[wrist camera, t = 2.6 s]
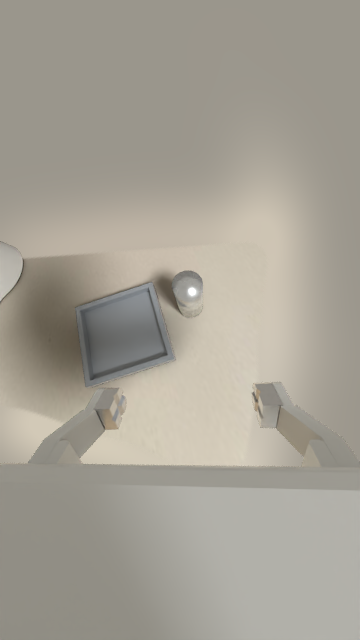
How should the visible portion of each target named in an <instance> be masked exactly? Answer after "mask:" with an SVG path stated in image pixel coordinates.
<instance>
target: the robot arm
mask: <svg viewBox="0 0 360 640" xmlns="http://www.w3.org/2000/svg"><path fill="white" fill-rule="evenodd" d="M22 267H23V259H22V256H21V253H20V252H19V251H18V249H16V248H15V247H13V246H11V245H8V244H6V243H4V242H1V241H0V301H1V300H2V298H3V297H4V296H5V295H6V294H7V293H8V292H9V291H10V290H11V289H12V288H13V287H14V285H15V284H16V283H17V281H18V279H19V277H20V275H21V272H22ZM253 390H254V392H253V393H252V402H253V406H254V410H255V411H257V419H258V421H259V425H260V427H261V428H277V430H278V431H279V432H280V433H281V434H282V435H283V436H284V437H285V438H286V439H287V440H288V441H289V442H290V443H291V445H292V446H293V447H294V448H295V449H296V450H297V451H298V452H299V453H300V454H301V455H302V456H303V457H304V459H303V462H302V465H301V467H287V466H286V467H285V466H283V467H282V466H281V467H280V466H277V467H276V466H201V465H111V464H103V465H102V464H83V463H82V461H81V460H80V457H81V456H82V455H83V454H84V453H85V452H86V451H87V450H88V449H89V448H90V446H91V445H92V444H93V443H94V442H95V441H96V440H97V439H98V438H99V437H100V435H101V434H102V433H103V432H104V431H105V430H112V429H118V428H119V426H120V423H121V420H122V418H121V415H122V414H123V413H124V412H125V409H126V398H125V396H123V395H122V394H123V390H122V388H98V389H97V390H96V391H95V393H94V395H93V397H92V398H91V400H90V402H89V403H88V405H87V407H86V409H85V410H82V411H81V412H79V413H78V414H77V415H75V416H74V417H73V418H72V419H70V420H69V421H68V422H66V423H65V424H64V425H62V426H61V427H60V428H58V429H57V430H56V431H55V432H53V433H52V434H51V435H49V436H48V437H47V438H45V439H44V440H43V442H42V443H41V445H40V446H39V447H38V449H37V450H36V452H35V453H34V455H33V456H32V458H31V459H30V460H29V462H28V463H25V464H24V463H0V640H360V461H359V460H358V459H357V457H356V456H355V454H354V453H353V451H352V450H351V448H350V447H349V446H348V444H347V443H346V441H345V440H344V439H343V438H342V437H341V436H339V435H338V434H336V433H335V432H333V431H332V430H331V429H329V428H328V427H326V426H325V425H324V424H322V423H321V422H320V421H318V420H317V419H315V418H314V417H313V416H311V415H310V414H308V413H307V412H305V411H304V410H302V409H301V408H300V407H298V406H296V405H294V404H293V403H292V401H291V399H290V397H289V395H288V393H287V392H286V390H285V388H284V386H283V384H282V383H281V382H265V383H253Z"/></svg>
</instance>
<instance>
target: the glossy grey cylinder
mask: <svg viewBox="0 0 360 640" xmlns="http://www.w3.org/2000/svg"><path fill="white" fill-rule="evenodd" d="M172 289H173V292H174V295H175V298H176V301H177V304H178V307H179V310H180V312H181V313H182V314H183V315H184V316H185V317H189V318H193V317H196V316H198V315H199V314H200V313H201V311H202V309H203V283H202V279H201V277H200V276H199V275H198V274H197V273H195V272H193V271H183V272H180V273H179V274H177V275H176V276H175V277H174V279H173V281H172Z"/></svg>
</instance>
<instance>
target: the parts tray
mask: <svg viewBox="0 0 360 640" xmlns="http://www.w3.org/2000/svg"><path fill="white" fill-rule="evenodd" d="M75 310H76V318H77V325H78V333H79V341H80V348H81V356H82V363H83V371H84V379H85V386H86V388H89V387H95V386H98V385H101V384H104V383H107V382H110V381H113V380H116V379H119V378H122V377H125V376H128V375H131V374H135V373H138V372H141V371H144V370H147V369H150V368H153V367H156V366H159V365H162V364H165V363H168V362H171V361H174V360H176V358H175V355H174V351H173V348H172V345H171V341H170V338H169V334H168V331H167V328H166V324H165V321H164V317H163V314H162V311H161V307H160V304H159V300H158V297H157V293H156V290H155V287H154V285H153V283H152V282H150V283H147V284H144V285H141V286H138V287H135V288H132V289H129V290H126V291H123V292H120V293H117V294H114V295H111V296H108V297H105V298H102V299H99V300H97V301H94V302H91V303H88V304H85V305H82V306H79V307H76V308H75Z"/></svg>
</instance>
